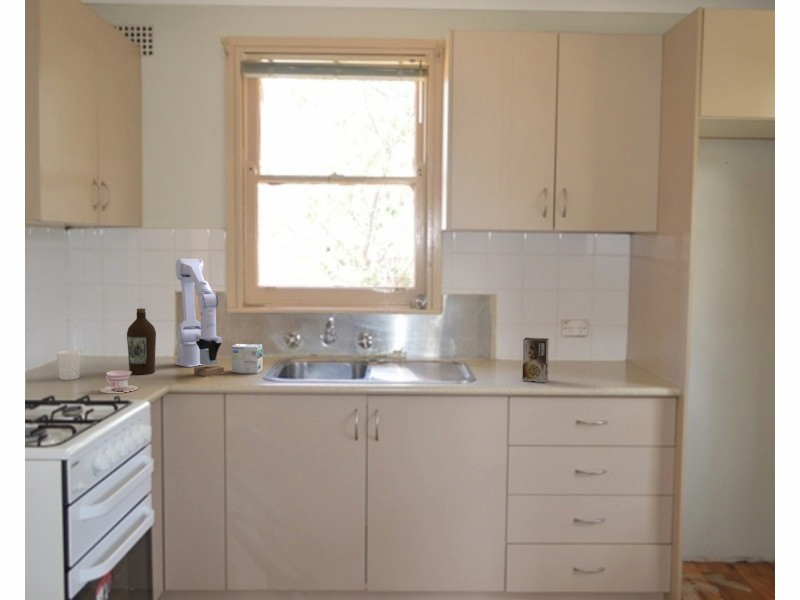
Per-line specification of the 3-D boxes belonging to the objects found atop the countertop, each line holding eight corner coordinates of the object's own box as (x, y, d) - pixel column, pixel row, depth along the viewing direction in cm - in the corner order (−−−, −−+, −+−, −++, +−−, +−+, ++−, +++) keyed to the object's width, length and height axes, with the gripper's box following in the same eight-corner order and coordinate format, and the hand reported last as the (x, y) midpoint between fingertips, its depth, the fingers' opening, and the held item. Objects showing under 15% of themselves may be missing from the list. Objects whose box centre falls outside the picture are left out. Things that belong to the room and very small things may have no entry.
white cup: (76, 375, 266) (75, 349, 265) (84, 378, 261) (83, 352, 260) (54, 378, 261) (53, 351, 260) (62, 381, 255) (61, 354, 254)
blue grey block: (199, 363, 271) (199, 349, 271) (209, 362, 275) (209, 348, 274) (206, 365, 268) (206, 351, 268) (216, 363, 272) (216, 349, 271)
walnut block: (194, 375, 272) (193, 367, 271) (211, 372, 278) (211, 364, 278) (206, 377, 267) (206, 370, 266) (223, 374, 273) (223, 367, 273)
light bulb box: (263, 370, 280) (262, 344, 280) (257, 373, 274) (257, 346, 273) (237, 369, 282) (236, 343, 281) (231, 373, 275) (231, 345, 274)
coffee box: (548, 380, 268) (549, 338, 267) (545, 383, 262) (547, 340, 261) (524, 378, 271) (525, 336, 270) (521, 381, 265) (522, 339, 264)
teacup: (144, 387, 247) (144, 370, 246) (125, 395, 235) (125, 376, 234) (113, 386, 249) (112, 368, 248) (92, 393, 237) (92, 375, 236)
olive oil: (135, 369, 279) (133, 307, 277) (161, 370, 278) (159, 307, 276) (122, 374, 268) (121, 309, 266) (149, 375, 268) (148, 310, 266)
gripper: (188, 323, 272) (189, 358, 273) (210, 327, 263) (211, 363, 264) (204, 322, 277) (204, 356, 279) (226, 325, 268) (226, 360, 269)
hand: (208, 359), depth 272 cm, fingers closed on blue grey block, 4 cm apart
